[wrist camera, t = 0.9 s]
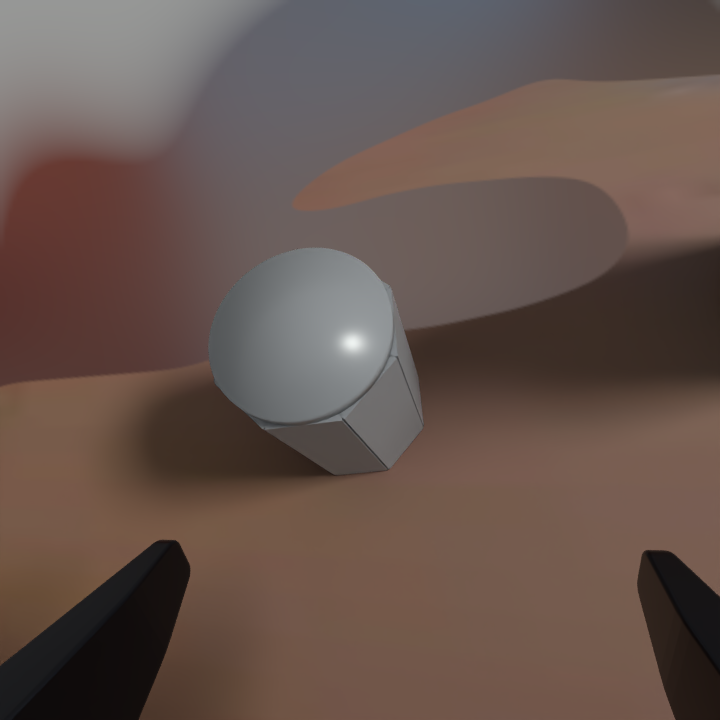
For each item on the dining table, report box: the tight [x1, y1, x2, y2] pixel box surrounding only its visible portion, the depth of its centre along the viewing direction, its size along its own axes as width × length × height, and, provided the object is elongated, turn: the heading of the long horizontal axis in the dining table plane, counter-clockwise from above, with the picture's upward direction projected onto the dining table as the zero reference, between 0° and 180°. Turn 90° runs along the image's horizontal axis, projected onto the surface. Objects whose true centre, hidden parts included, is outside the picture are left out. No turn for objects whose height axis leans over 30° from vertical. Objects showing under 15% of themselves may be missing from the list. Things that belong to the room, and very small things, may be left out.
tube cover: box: [209, 248, 424, 475], centre depth 22 cm, size 7×7×10 cm
